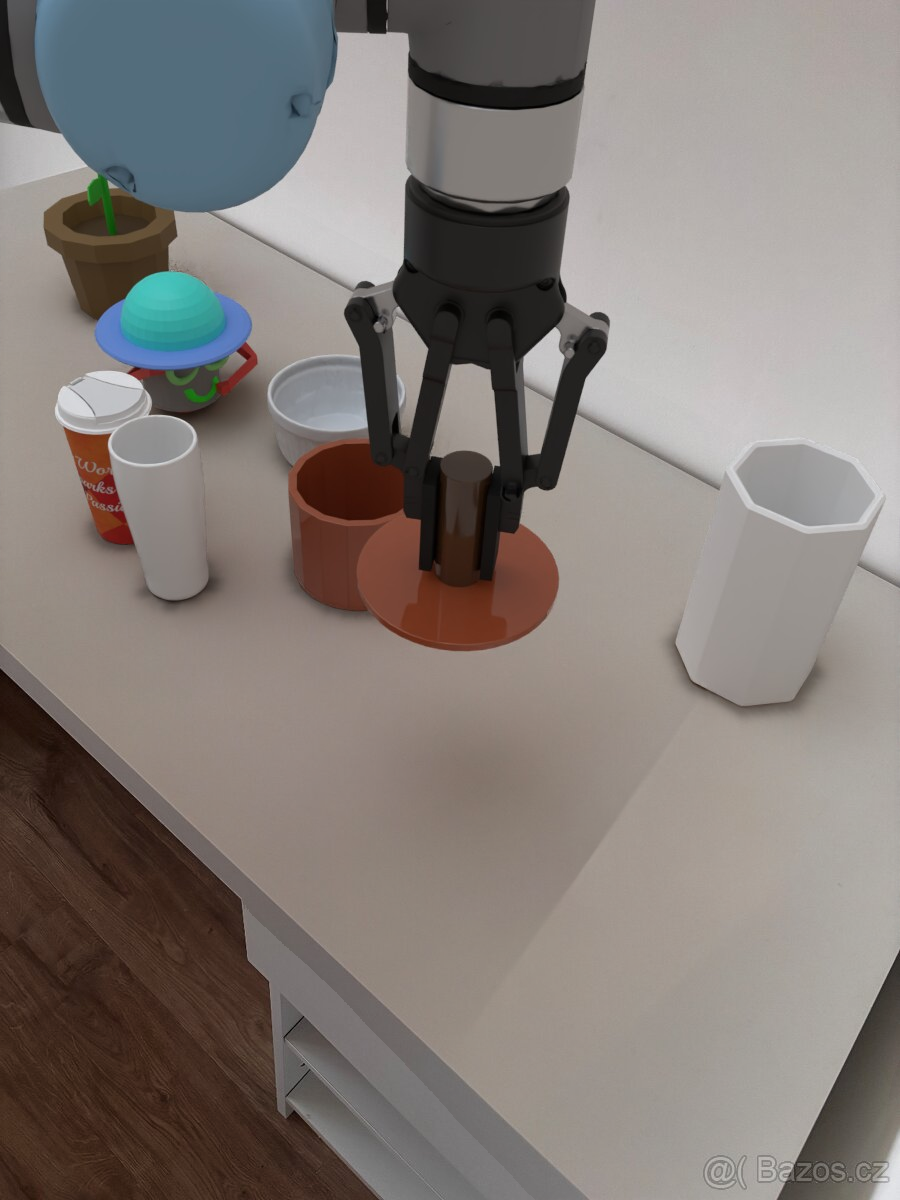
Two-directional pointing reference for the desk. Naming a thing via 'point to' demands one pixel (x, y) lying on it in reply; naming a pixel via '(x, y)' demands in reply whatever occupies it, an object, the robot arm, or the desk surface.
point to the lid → (458, 571)
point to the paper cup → (100, 439)
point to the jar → (338, 516)
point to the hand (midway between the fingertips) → (458, 560)
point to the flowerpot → (108, 242)
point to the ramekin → (320, 403)
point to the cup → (775, 567)
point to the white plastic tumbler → (163, 501)
